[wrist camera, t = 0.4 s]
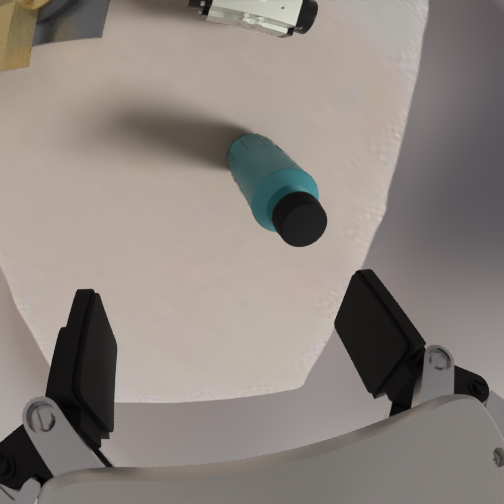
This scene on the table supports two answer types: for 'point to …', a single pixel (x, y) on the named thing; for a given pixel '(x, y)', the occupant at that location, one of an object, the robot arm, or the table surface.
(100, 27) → the housing
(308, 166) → the table surface
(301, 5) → the pneumatic valve
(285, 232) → the beverage bottle
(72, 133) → the table surface
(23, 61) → the gold slotted fixture
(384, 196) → the table surface
